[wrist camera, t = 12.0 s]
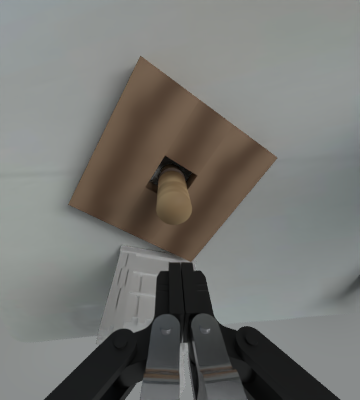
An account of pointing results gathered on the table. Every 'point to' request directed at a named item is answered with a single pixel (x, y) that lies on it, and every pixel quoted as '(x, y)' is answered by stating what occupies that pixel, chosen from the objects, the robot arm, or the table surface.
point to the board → (175, 150)
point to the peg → (173, 196)
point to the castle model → (137, 294)
